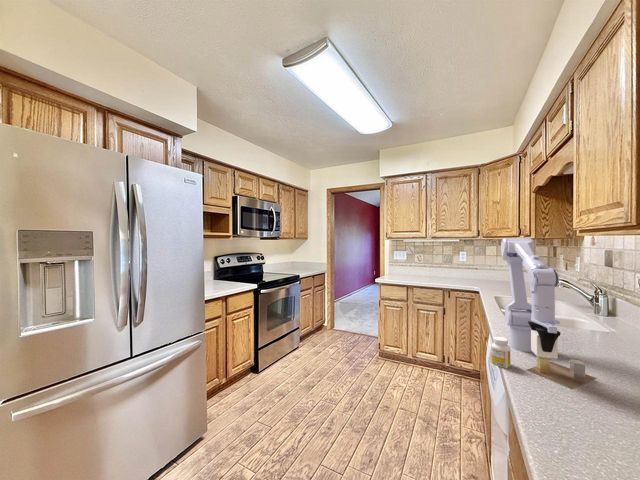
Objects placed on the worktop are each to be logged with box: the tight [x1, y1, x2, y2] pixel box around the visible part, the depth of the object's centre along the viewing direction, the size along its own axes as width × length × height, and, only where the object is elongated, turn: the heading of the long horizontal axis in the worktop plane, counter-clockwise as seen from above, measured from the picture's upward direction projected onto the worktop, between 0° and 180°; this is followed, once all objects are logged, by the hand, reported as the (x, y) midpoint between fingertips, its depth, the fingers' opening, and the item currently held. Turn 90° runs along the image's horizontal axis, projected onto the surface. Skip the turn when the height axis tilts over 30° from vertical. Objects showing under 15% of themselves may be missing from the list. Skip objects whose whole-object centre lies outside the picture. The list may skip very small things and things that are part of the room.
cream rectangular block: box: [531, 330, 559, 359], centre depth 86 cm, size 5×5×7 cm
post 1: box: [536, 356, 551, 374], centre depth 86 cm, size 3×3×4 cm
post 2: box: [569, 359, 586, 379], centre depth 83 cm, size 3×3×4 cm
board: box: [526, 360, 597, 390], centre depth 84 cm, size 14×12×1 cm
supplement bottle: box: [490, 336, 511, 369], centre depth 91 cm, size 5×5×10 cm
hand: (543, 348), depth 86 cm, fingers closed on cream rectangular block, 5 cm apart
